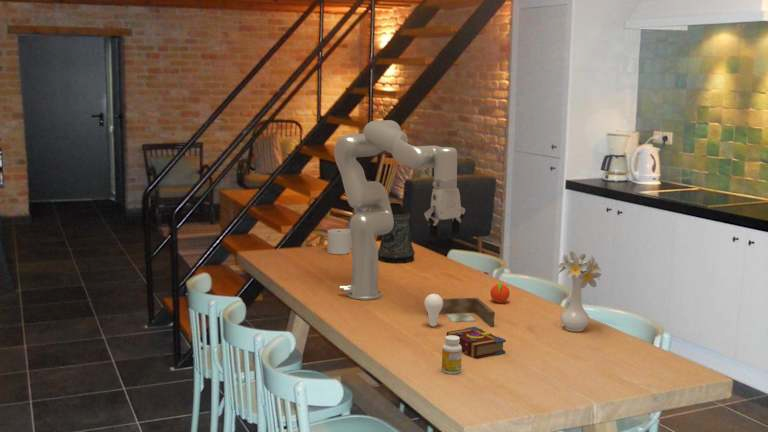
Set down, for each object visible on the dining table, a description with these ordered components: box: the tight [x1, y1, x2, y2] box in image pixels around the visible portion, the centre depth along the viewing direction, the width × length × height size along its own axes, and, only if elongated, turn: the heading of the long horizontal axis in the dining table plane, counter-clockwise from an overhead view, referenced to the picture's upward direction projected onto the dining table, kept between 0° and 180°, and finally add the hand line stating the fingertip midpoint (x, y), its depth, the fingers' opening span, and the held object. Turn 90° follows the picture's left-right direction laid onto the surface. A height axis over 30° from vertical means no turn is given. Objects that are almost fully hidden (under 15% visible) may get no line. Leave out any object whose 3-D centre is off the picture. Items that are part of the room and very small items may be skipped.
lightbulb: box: [423, 293, 443, 328], centre depth 274 cm, size 6×6×11 cm
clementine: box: [490, 282, 510, 304], centre depth 306 cm, size 8×7×7 cm
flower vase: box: [556, 250, 602, 333], centre depth 273 cm, size 13×18×25 cm
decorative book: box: [446, 326, 507, 359], centre depth 254 cm, size 11×16×5 cm
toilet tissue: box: [326, 228, 352, 255], centre depth 387 cm, size 11×12×10 cm
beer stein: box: [377, 202, 415, 265], centre depth 372 cm, size 16×19×25 cm
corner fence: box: [426, 297, 496, 328], centre depth 283 cm, size 18×18×5 cm
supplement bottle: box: [441, 335, 463, 375], centre depth 234 cm, size 5×5×10 cm
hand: (444, 235), depth 281 cm, fingers open, 9 cm apart
